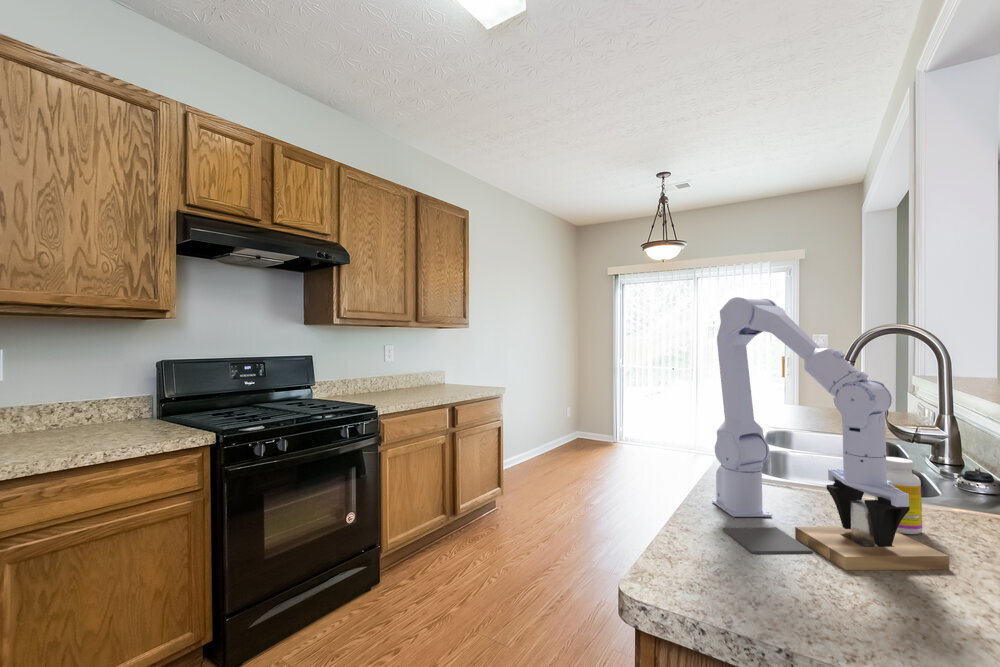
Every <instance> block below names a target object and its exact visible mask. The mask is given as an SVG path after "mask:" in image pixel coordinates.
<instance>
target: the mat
mask: <svg viewBox="0 0 1000 667" xmlns="http://www.w3.org/2000/svg"><path fill="white" fill-rule="evenodd" d="M722 530H723V531H724V532H725V533H726V534H727V535H728V536H730V537H731V538H732V539H734V541H736V542H737V543H738V544H740V545H741V546H742V547H744V548H745V549H746V550H747V551H749V553H751V554H753V555H754V554H755V555H757V554H813V553H814V550H813V549H812V548H810V547H808V546H807V545H805V544H804V543H802V542H801V541H799V540H797V539H796V538H795V537H792V536H790V535H789V534H788V533H786V532H785V531H783V530H781V529H780V528H778V527H776V526H775V527H774V526H773V527H769V526H767V527H765V526H764V527H758V526H757V527H723V528H722Z"/></svg>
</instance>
